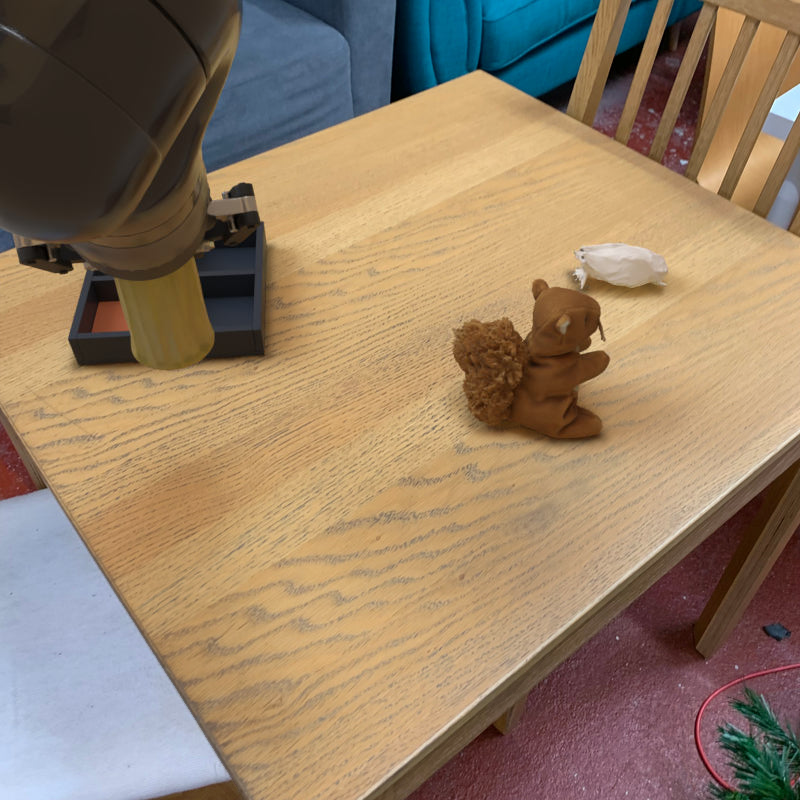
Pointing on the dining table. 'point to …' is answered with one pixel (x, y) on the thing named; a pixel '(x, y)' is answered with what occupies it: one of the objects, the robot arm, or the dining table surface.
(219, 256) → the grid
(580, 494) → the dining table surface
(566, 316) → the stuffed squirrel
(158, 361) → the vase
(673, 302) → the dining table surface
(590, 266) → the bird figurine
